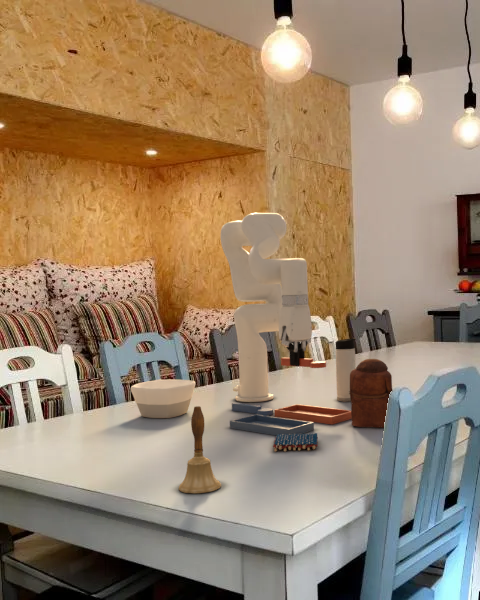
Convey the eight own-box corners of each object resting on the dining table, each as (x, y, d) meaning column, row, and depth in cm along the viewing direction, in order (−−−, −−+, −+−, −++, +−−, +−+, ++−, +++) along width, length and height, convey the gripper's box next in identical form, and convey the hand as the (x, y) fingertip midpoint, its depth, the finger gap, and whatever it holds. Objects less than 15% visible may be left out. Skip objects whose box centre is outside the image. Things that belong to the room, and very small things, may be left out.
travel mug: (356, 401, 229) (354, 338, 228) (335, 401, 230) (333, 339, 230) (358, 398, 235) (356, 337, 234) (338, 398, 237) (336, 337, 236)
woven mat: (275, 441, 179) (274, 433, 179) (318, 440, 178) (317, 432, 178) (272, 452, 168) (271, 443, 168) (317, 450, 168) (317, 442, 168)
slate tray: (229, 428, 196) (229, 420, 196) (255, 421, 204) (255, 414, 204) (288, 437, 183) (288, 429, 183) (314, 429, 190) (313, 422, 190)
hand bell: (180, 482, 146) (177, 404, 145) (221, 480, 146) (218, 402, 146) (176, 495, 138) (173, 412, 137) (220, 492, 138) (217, 409, 138)
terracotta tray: (274, 416, 210) (274, 409, 210) (297, 410, 218) (296, 404, 218) (332, 424, 196) (331, 417, 196) (354, 417, 204) (354, 410, 204)
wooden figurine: (396, 423, 194) (394, 357, 194) (392, 429, 188) (390, 360, 187) (352, 422, 197) (350, 357, 197) (348, 428, 191) (346, 360, 191)
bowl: (205, 410, 223) (204, 380, 223) (172, 422, 207) (170, 389, 207) (158, 407, 231) (156, 378, 230) (122, 418, 215) (120, 387, 214)
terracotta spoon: (277, 366, 210) (277, 358, 210) (288, 364, 213) (287, 356, 213) (319, 368, 200) (318, 360, 200) (329, 366, 203) (329, 358, 203)
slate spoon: (228, 411, 221) (228, 404, 221) (239, 408, 224) (238, 401, 224) (265, 416, 211) (265, 409, 211) (276, 413, 214) (276, 406, 214)
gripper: (302, 300, 216) (305, 361, 216) (266, 302, 204) (269, 367, 205) (322, 300, 211) (324, 362, 212) (286, 302, 199) (289, 369, 200)
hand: (297, 364), depth 208 cm, fingers closed on terracotta spoon, 1 cm apart
